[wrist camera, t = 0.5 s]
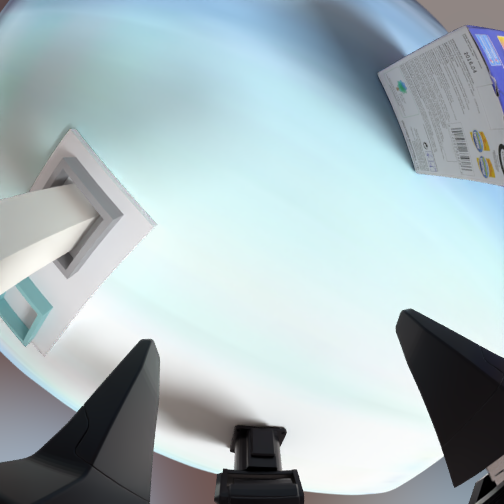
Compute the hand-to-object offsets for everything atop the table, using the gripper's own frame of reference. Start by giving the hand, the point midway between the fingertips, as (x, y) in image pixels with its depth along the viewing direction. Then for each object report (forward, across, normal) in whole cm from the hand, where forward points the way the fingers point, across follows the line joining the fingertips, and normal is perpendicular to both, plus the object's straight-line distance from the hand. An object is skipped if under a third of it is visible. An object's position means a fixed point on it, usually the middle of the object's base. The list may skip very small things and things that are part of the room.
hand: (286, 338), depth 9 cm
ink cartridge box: (+15, -16, -8) cm, 23 cm away
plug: (+15, +15, 0) cm, 21 cm away
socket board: (+15, +20, +4) cm, 26 cm away
